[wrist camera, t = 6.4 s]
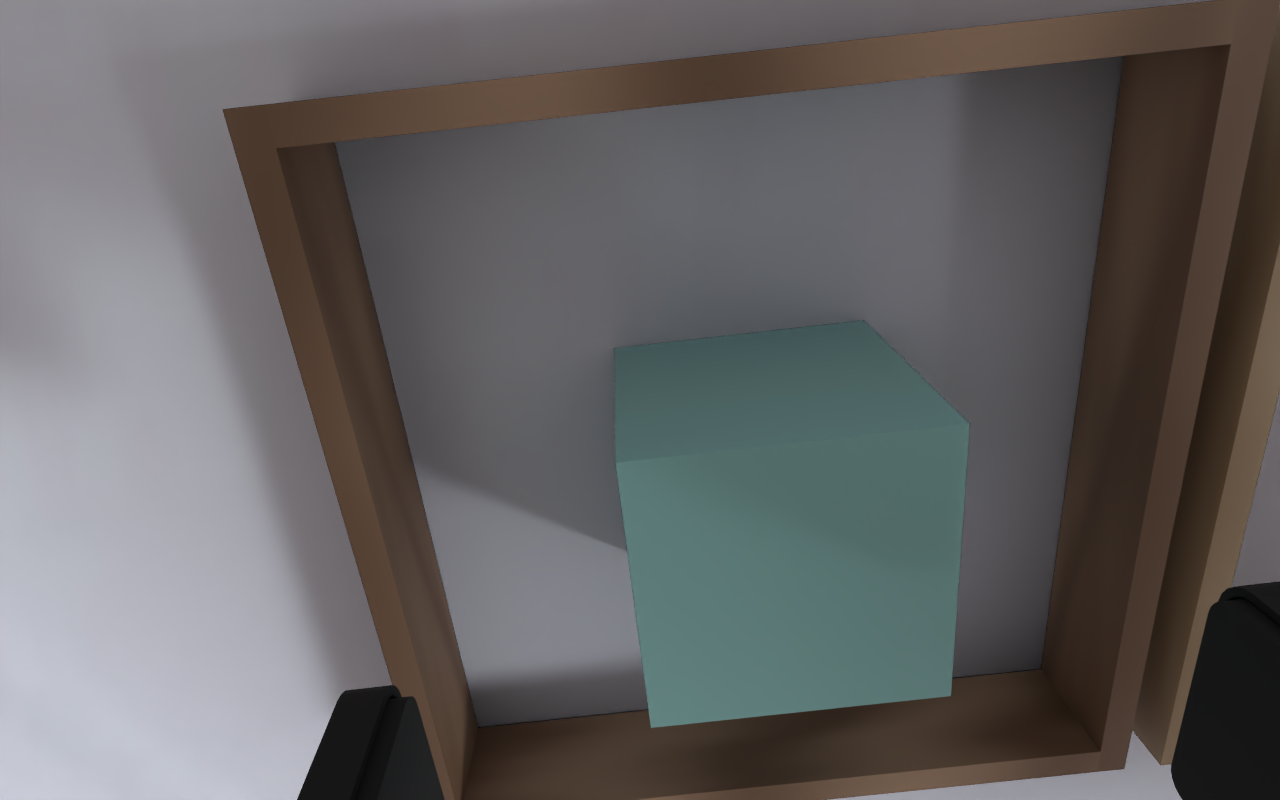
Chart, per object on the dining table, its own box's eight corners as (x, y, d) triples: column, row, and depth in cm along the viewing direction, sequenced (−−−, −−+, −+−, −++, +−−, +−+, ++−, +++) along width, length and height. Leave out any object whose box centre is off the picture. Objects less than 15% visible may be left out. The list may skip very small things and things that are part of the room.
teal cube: (862, 319, 15) (969, 423, 11) (860, 530, 17) (950, 695, 13) (614, 346, 15) (615, 463, 11) (640, 554, 17) (650, 728, 13)
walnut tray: (1164, 7, 13) (1281, -8, 11) (1062, 685, 19) (1124, 768, 17) (289, 103, 13) (222, 109, 11) (458, 748, 19) (437, 839, 17)
